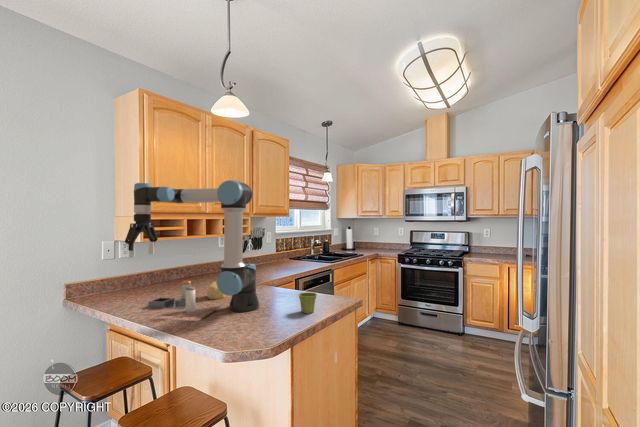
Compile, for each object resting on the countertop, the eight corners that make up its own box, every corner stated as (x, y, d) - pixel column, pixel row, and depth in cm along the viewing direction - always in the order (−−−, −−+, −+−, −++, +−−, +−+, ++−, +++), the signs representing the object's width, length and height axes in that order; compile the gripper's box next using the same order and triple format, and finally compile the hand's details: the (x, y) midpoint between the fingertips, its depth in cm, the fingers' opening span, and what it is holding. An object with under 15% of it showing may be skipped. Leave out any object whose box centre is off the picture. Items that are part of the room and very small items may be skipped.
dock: (198, 304, 172) (198, 296, 172) (183, 312, 158) (183, 303, 158) (164, 303, 175) (164, 295, 175) (147, 310, 161) (147, 301, 162)
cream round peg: (197, 312, 157) (197, 286, 158) (192, 315, 153) (192, 288, 153) (188, 312, 158) (189, 286, 158) (183, 315, 154) (183, 288, 154)
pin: (192, 302, 171) (192, 280, 171) (188, 304, 167) (188, 282, 167) (185, 302, 171) (185, 280, 172) (180, 304, 167) (180, 282, 167)
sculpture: (213, 303, 175) (213, 283, 175) (203, 299, 183) (203, 280, 183) (232, 299, 183) (232, 280, 184) (221, 296, 192) (221, 278, 192)
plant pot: (299, 309, 164) (299, 292, 164) (317, 309, 163) (317, 292, 163) (297, 314, 154) (297, 296, 154) (316, 314, 154) (316, 296, 154)
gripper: (152, 214, 174) (152, 252, 174) (116, 213, 150) (115, 258, 149) (165, 214, 173) (164, 253, 173) (130, 213, 148) (130, 258, 148)
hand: (142, 255), depth 161 cm, fingers open, 13 cm apart
